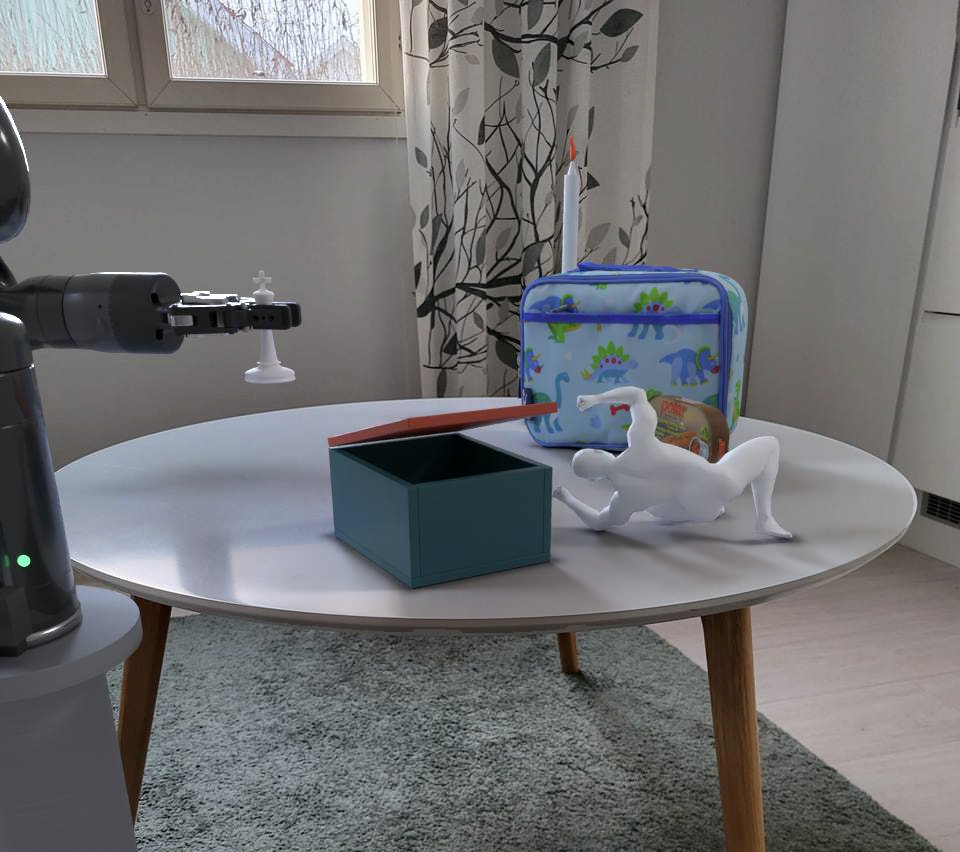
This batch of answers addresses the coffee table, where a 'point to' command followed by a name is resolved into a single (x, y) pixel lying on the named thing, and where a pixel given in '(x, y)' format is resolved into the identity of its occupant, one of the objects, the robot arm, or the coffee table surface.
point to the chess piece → (267, 346)
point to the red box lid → (442, 423)
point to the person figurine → (672, 474)
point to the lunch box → (627, 346)
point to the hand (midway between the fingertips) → (294, 316)
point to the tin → (691, 426)
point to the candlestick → (570, 214)
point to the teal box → (441, 507)
